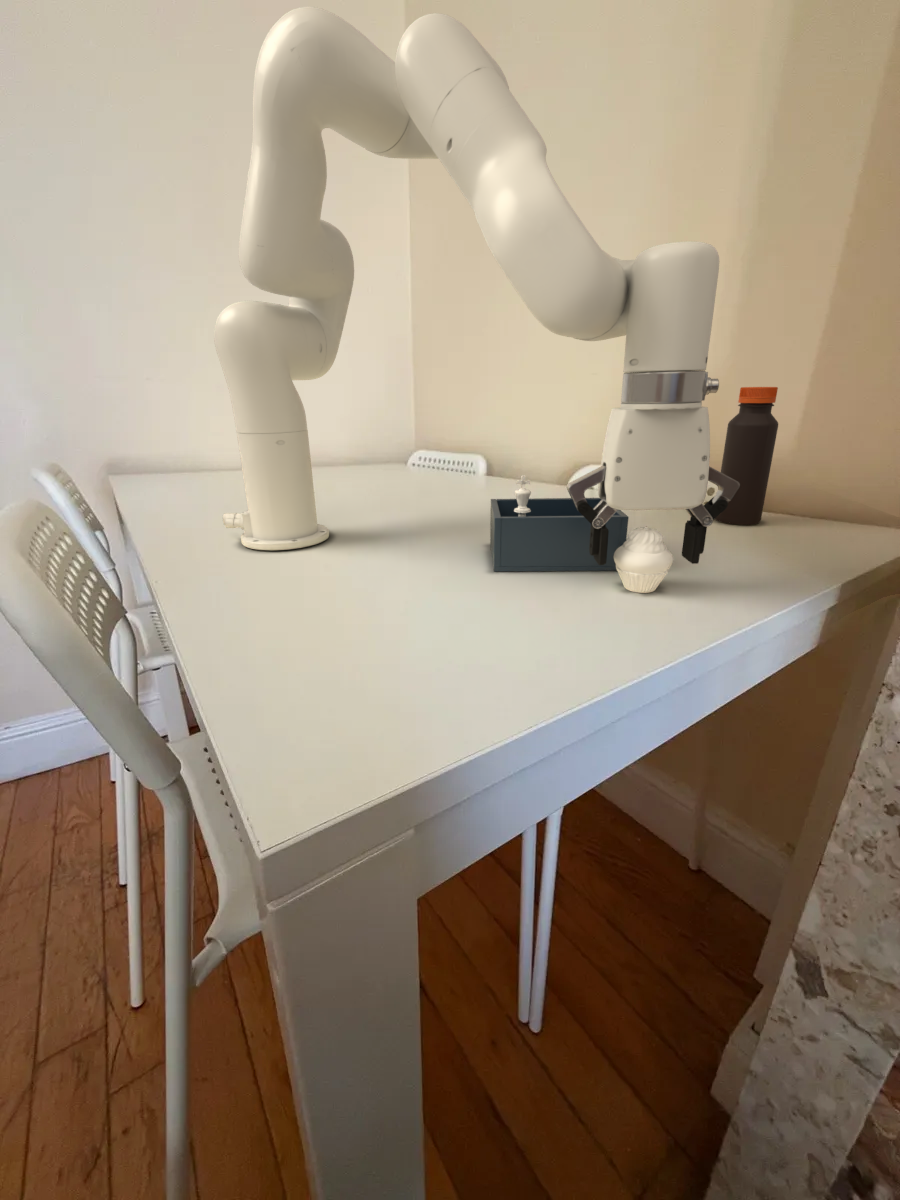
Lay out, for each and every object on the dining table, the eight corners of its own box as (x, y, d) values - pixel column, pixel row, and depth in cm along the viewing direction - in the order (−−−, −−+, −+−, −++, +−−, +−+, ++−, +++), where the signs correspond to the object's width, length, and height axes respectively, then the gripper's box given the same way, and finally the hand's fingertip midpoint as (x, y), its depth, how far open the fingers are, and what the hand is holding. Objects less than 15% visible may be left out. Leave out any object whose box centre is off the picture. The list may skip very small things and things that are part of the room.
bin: (493, 571, 69) (494, 518, 67) (490, 545, 80) (490, 498, 77) (623, 570, 68) (628, 516, 66) (602, 544, 79) (606, 497, 77)
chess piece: (542, 558, 72) (546, 478, 68) (503, 558, 72) (504, 478, 68) (537, 547, 76) (540, 472, 73) (500, 548, 76) (501, 472, 73)
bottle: (707, 515, 94) (726, 387, 87) (750, 516, 94) (773, 386, 86) (721, 525, 88) (743, 387, 81) (767, 526, 87) (794, 387, 80)
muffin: (668, 601, 59) (676, 535, 56) (607, 594, 61) (613, 530, 59) (670, 582, 64) (678, 521, 62) (614, 576, 66) (619, 517, 64)
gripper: (734, 389, 59) (711, 550, 65) (566, 394, 59) (558, 552, 65) (771, 390, 52) (741, 570, 58) (579, 395, 52) (569, 573, 58)
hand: (644, 560), depth 61 cm, fingers open, 9 cm apart
